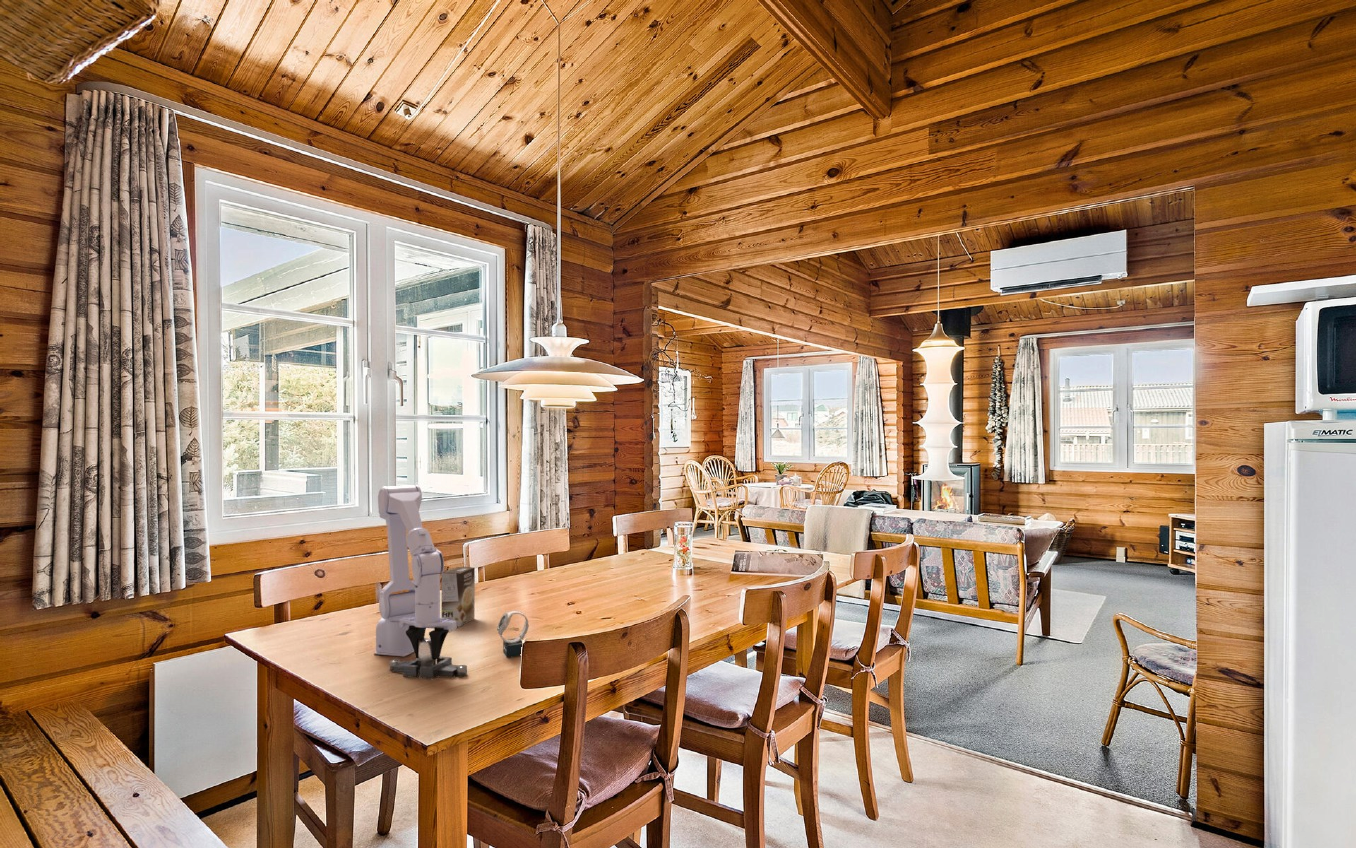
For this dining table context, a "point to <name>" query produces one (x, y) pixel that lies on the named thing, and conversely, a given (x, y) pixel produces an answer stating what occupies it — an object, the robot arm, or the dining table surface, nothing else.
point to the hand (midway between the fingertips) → (427, 657)
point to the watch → (511, 645)
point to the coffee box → (458, 595)
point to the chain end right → (443, 669)
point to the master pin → (425, 653)
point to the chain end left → (405, 667)
